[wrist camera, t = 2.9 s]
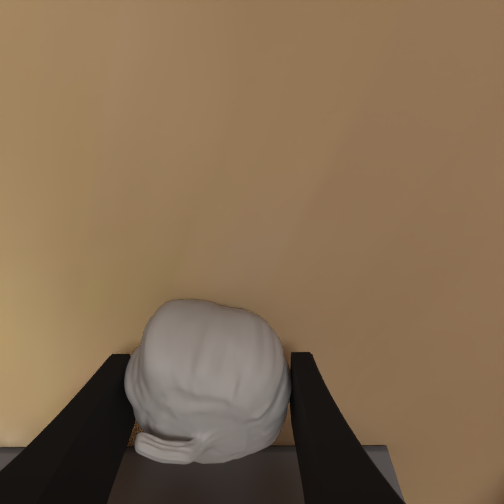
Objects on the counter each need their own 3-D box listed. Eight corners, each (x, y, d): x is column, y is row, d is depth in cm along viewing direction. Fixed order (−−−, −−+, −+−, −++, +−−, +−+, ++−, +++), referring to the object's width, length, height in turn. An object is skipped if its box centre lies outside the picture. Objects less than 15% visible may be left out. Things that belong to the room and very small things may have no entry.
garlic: (113, 326, 14) (43, 466, 9) (203, 242, 12) (171, 367, 7) (225, 397, 16) (213, 537, 11) (317, 336, 14) (348, 477, 9)
